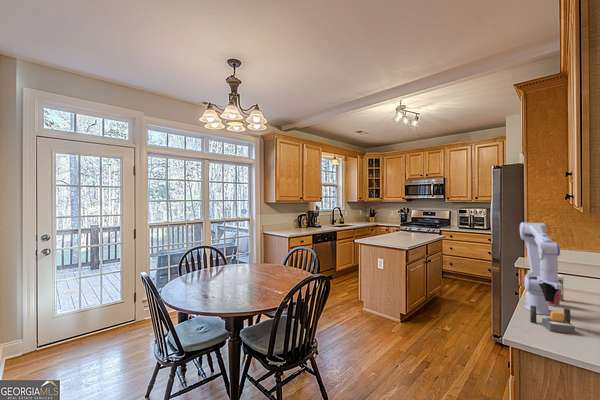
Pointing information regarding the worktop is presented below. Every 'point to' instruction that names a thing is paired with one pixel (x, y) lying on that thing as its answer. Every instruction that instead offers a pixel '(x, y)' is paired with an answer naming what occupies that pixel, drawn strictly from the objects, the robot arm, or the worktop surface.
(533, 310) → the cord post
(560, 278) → the sprinkles bottle
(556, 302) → the beverage can
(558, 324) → the breaker box
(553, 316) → the breaker paddle
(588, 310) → the worktop surface
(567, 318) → the cylinder
